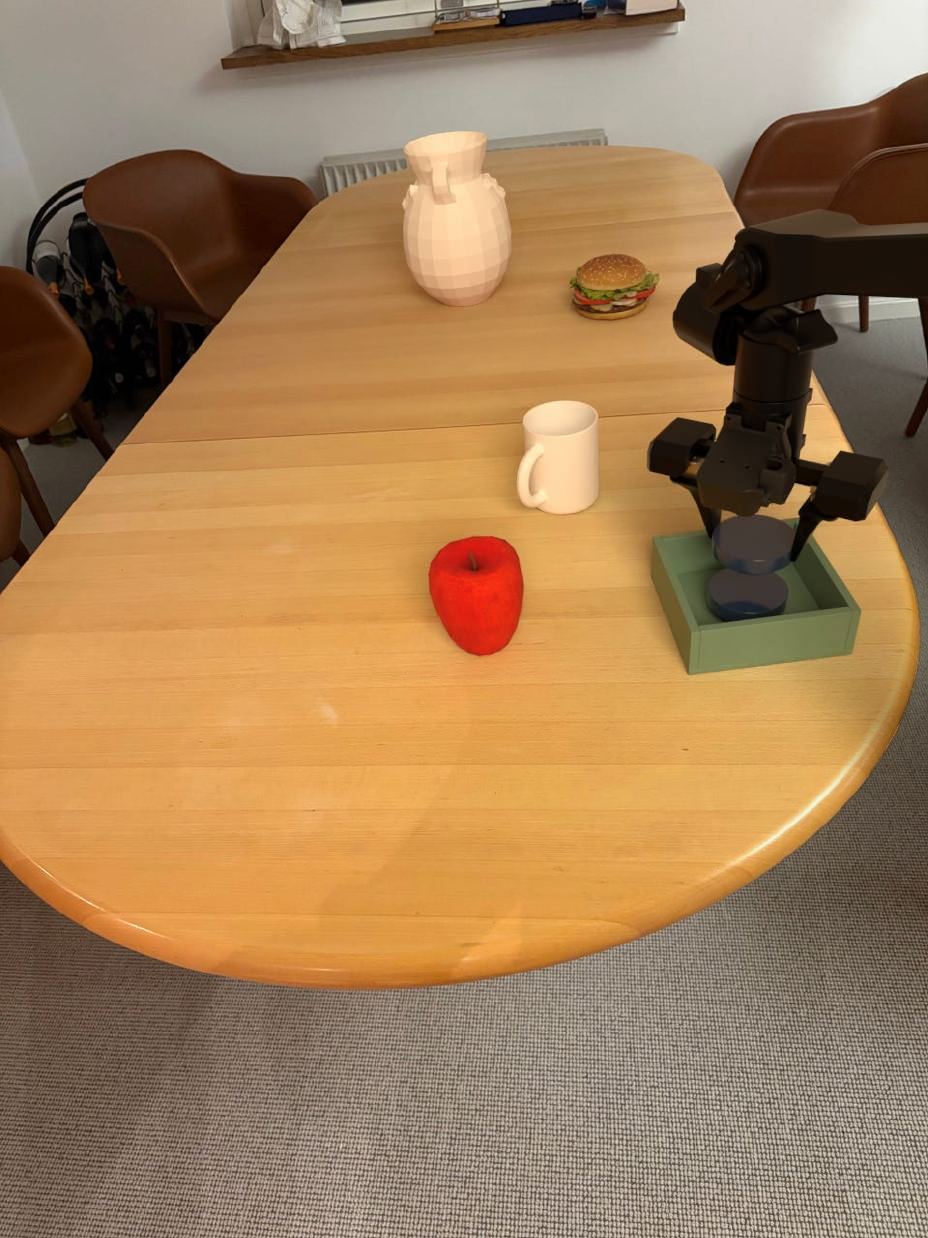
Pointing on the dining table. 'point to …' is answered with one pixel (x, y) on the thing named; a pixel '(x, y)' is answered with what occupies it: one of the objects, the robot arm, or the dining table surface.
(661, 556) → the tub
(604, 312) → the food
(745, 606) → the dark round disc
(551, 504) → the mug
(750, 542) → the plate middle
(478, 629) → the apple
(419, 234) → the pitcher
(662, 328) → the dining table surface
